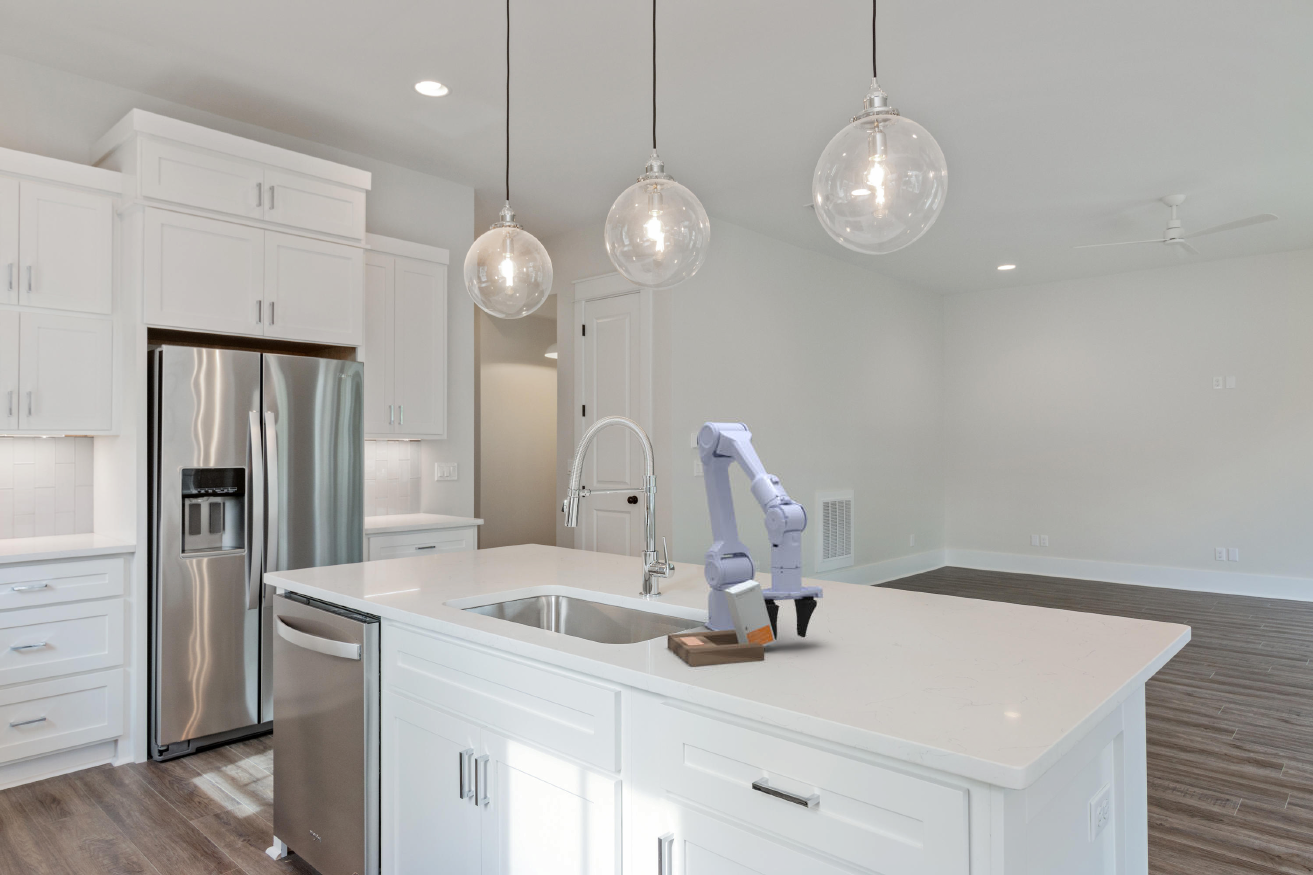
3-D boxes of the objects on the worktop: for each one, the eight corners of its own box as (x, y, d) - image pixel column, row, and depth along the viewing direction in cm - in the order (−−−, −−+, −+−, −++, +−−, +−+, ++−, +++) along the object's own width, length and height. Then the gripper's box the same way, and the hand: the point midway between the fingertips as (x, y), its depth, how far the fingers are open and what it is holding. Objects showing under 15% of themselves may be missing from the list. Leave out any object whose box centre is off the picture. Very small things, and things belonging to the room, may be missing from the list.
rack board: (667, 647, 151) (667, 633, 151) (735, 642, 155) (734, 628, 155) (691, 666, 137) (691, 651, 137) (764, 660, 141) (764, 645, 141)
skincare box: (749, 654, 146) (731, 593, 145) (740, 648, 150) (722, 589, 149) (777, 642, 147) (760, 582, 146) (767, 636, 151) (750, 578, 150)
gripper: (760, 571, 145) (761, 645, 144) (830, 567, 149) (831, 639, 149) (745, 566, 151) (746, 636, 151) (812, 562, 156) (813, 631, 155)
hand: (787, 637), depth 150 cm, fingers open, 5 cm apart
